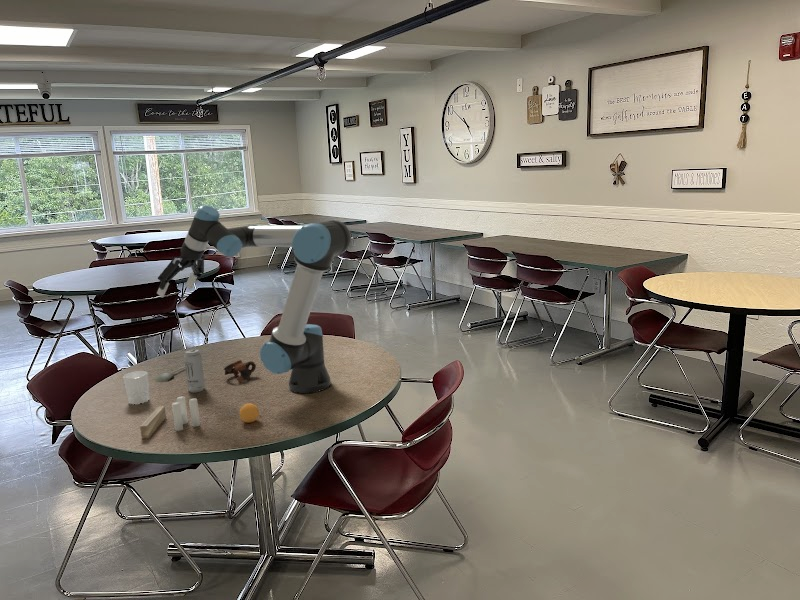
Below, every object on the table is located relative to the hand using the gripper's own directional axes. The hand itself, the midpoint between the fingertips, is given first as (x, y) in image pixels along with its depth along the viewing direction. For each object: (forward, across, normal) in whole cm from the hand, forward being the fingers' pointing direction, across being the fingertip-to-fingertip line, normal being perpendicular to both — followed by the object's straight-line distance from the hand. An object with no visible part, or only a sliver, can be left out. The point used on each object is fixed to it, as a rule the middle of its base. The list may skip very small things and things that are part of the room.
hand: (174, 291), depth 223 cm
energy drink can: (+24, +4, +29) cm, 38 cm away
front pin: (+10, +29, +48) cm, 57 cm away
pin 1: (+13, +29, +44) cm, 54 cm away
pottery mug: (+20, -12, +35) cm, 42 cm away
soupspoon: (+38, -9, +11) cm, 40 cm away
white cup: (+31, +20, +19) cm, 41 cm away
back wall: (+16, +35, +39) cm, 55 cm away
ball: (-2, +21, +58) cm, 62 cm away
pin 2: (+11, +33, +46) cm, 58 cm away
